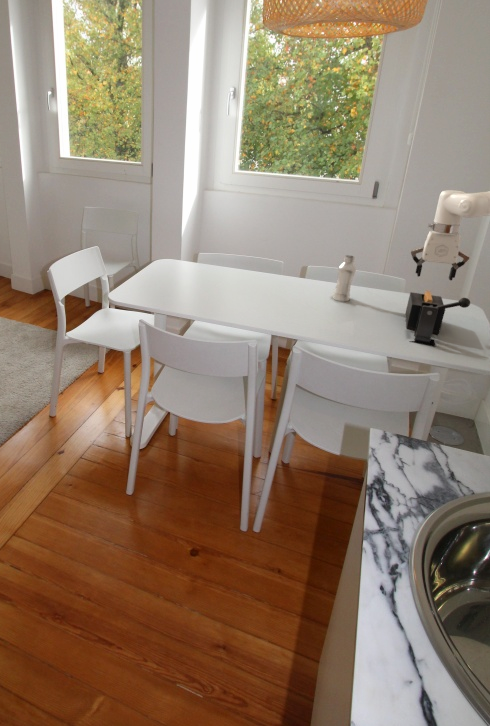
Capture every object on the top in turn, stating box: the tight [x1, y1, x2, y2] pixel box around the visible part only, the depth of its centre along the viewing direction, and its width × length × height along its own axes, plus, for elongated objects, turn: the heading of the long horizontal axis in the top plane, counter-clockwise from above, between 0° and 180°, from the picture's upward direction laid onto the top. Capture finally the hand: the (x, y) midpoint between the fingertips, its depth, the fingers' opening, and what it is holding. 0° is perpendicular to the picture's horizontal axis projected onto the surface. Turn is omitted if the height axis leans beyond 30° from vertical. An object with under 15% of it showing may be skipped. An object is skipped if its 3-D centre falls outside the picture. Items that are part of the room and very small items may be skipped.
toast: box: [423, 290, 433, 303], centre depth 167 cm, size 2×10×10 cm, turn 155°
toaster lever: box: [428, 297, 471, 310], centre depth 152 cm, size 13×3×3 cm, turn 65°
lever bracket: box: [408, 301, 438, 348], centre depth 156 cm, size 8×8×14 cm
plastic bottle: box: [332, 254, 356, 302], centre depth 188 cm, size 6×7×20 cm
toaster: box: [404, 292, 446, 336], centre depth 168 cm, size 10×14×11 cm
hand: (434, 277), depth 162 cm, fingers open, 9 cm apart
